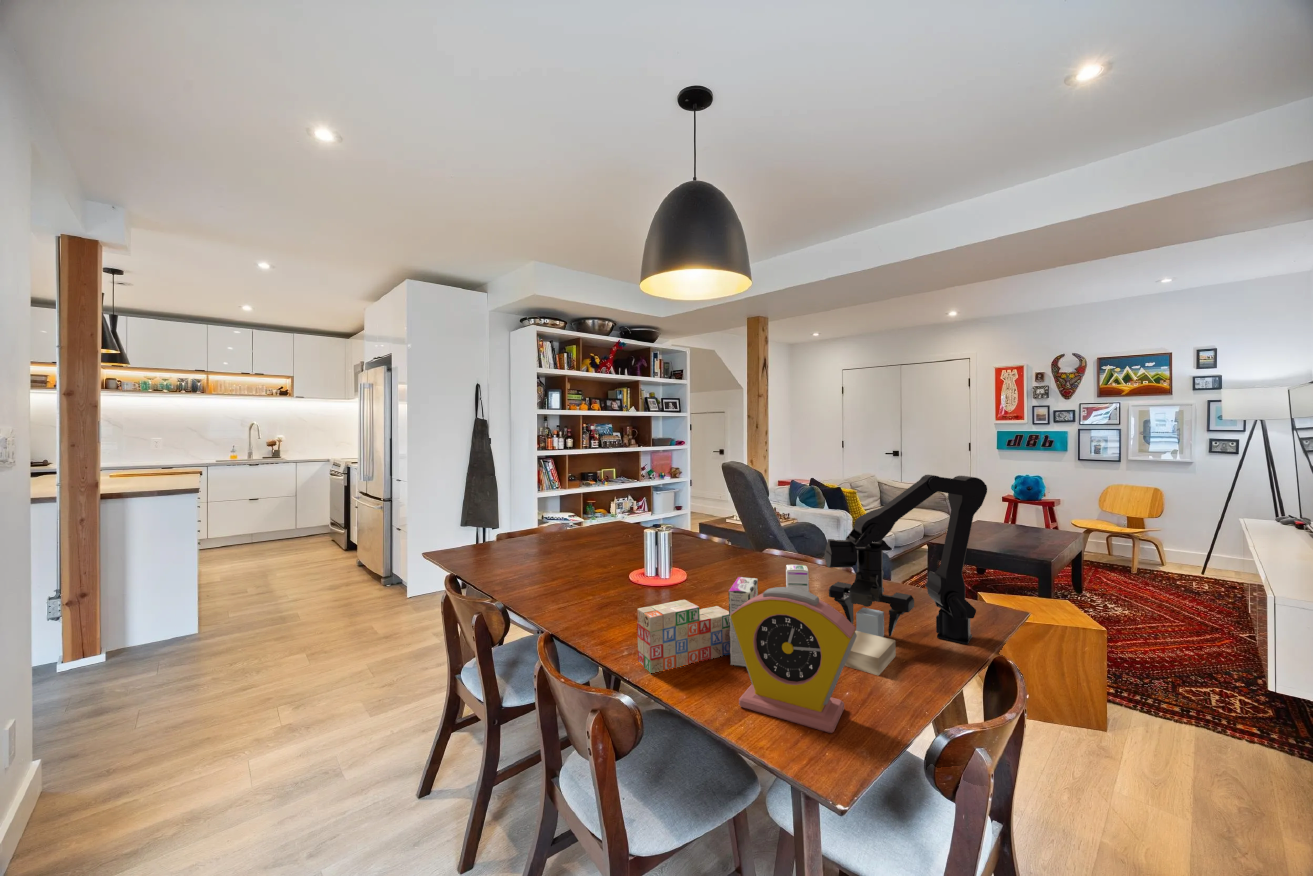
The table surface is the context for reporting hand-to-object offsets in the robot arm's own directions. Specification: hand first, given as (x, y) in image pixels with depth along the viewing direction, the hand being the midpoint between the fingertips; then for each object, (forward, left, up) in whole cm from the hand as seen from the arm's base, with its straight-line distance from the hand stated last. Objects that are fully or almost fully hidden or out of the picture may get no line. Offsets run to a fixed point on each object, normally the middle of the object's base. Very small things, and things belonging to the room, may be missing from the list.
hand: (870, 631), depth 124 cm
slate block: (0, 0, -1) cm, 1 cm away
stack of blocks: (+27, +39, -2) cm, 47 cm away
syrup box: (+18, +2, -2) cm, 18 cm away
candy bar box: (+18, +30, -2) cm, 35 cm away
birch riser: (-2, +14, -2) cm, 14 cm away
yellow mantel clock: (0, +43, -2) cm, 43 cm away
